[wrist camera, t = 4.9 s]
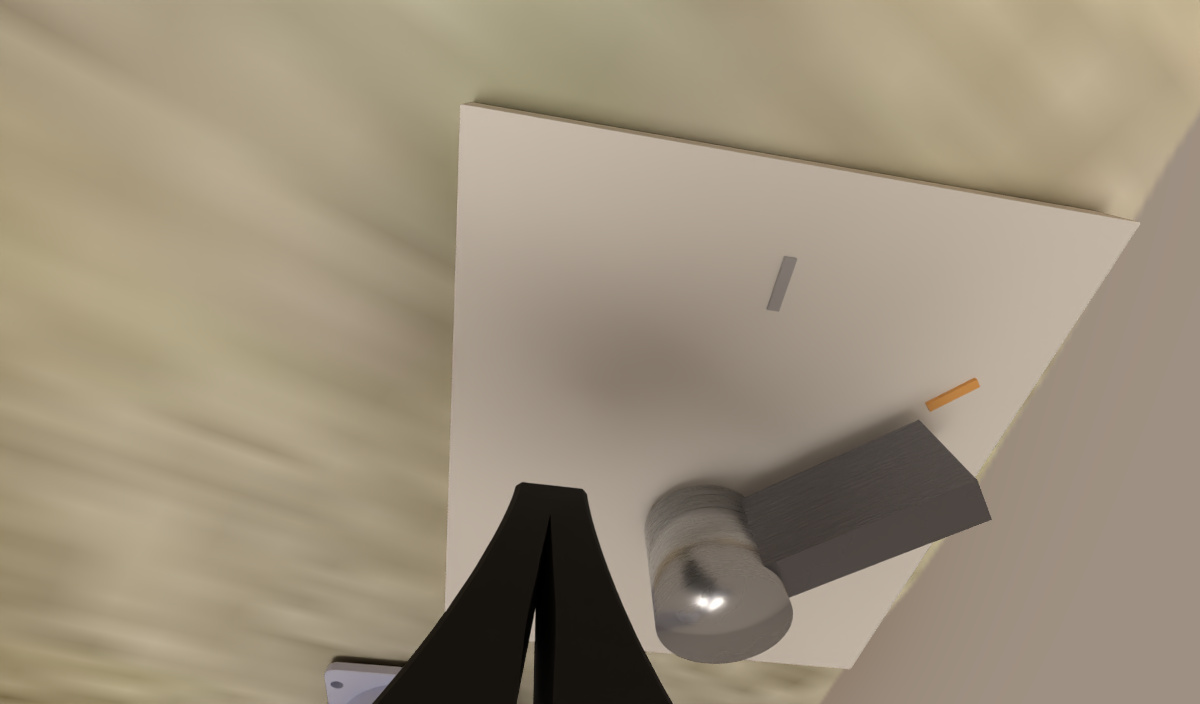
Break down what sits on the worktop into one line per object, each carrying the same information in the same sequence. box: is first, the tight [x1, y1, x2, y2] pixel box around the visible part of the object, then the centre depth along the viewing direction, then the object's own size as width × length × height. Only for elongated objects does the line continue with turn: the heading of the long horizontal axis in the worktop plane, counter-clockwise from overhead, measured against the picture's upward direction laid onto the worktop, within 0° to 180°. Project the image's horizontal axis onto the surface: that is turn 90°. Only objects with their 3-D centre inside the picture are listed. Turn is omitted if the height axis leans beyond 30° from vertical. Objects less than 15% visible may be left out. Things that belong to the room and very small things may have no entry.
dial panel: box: [445, 102, 1140, 669], centre depth 16 cm, size 18×16×1 cm
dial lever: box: [644, 420, 991, 664], centre depth 14 cm, size 9×4×3 cm, turn 122°
